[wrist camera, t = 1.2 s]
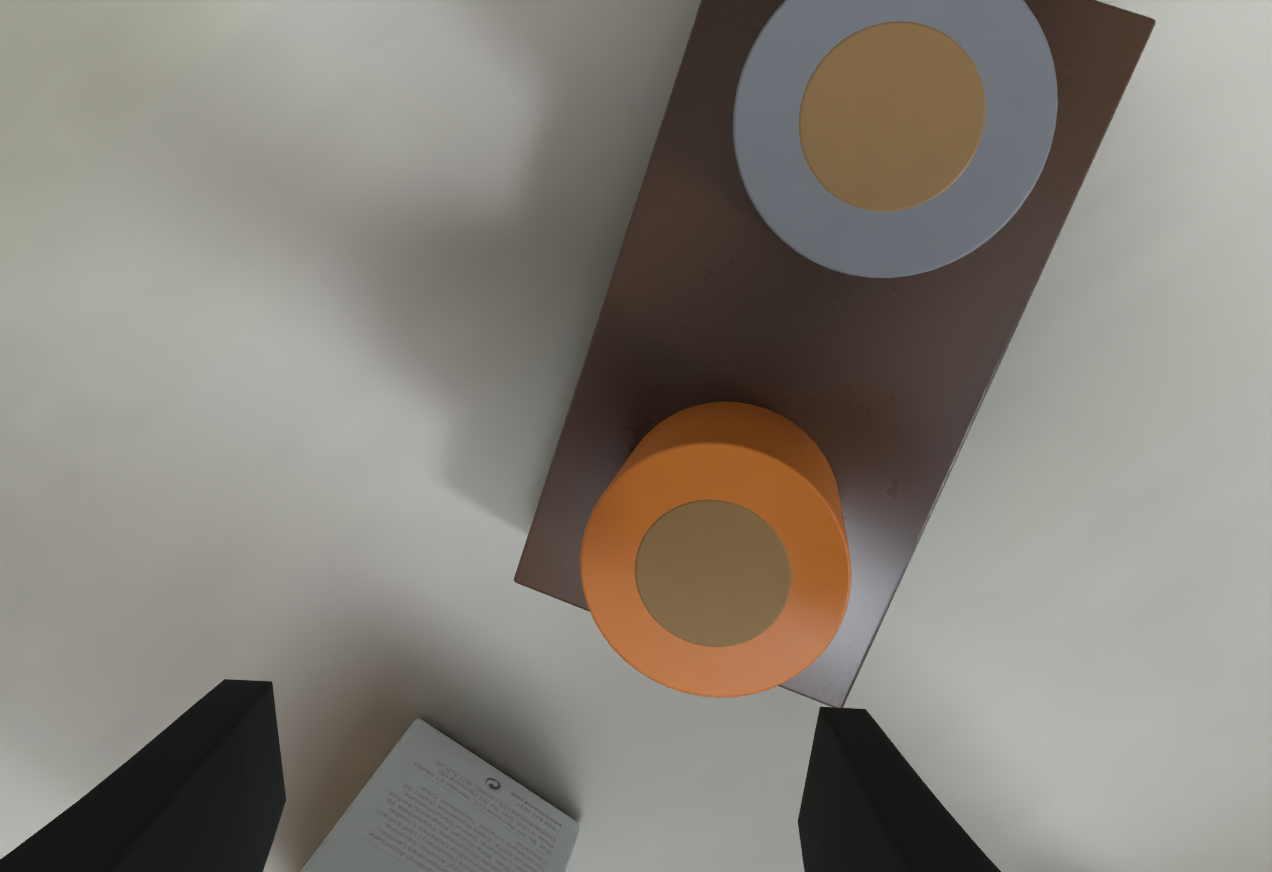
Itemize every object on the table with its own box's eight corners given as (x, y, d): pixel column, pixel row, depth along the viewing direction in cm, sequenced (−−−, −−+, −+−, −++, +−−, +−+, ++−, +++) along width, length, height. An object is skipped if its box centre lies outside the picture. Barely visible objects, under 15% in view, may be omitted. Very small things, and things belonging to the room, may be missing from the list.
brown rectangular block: (1109, 47, 19) (1158, 19, 16) (836, 658, 23) (841, 712, 20) (745, -70, 19) (737, -115, 17) (542, 544, 23) (512, 582, 21)
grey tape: (1045, 53, 16) (1117, 4, 13) (938, 301, 18) (976, 320, 14) (797, -27, 17) (798, -98, 13) (711, 221, 18) (689, 220, 14)
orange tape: (875, 448, 19) (896, 502, 15) (791, 644, 20) (791, 738, 16) (659, 369, 19) (627, 402, 15) (590, 565, 20) (546, 640, 17)
